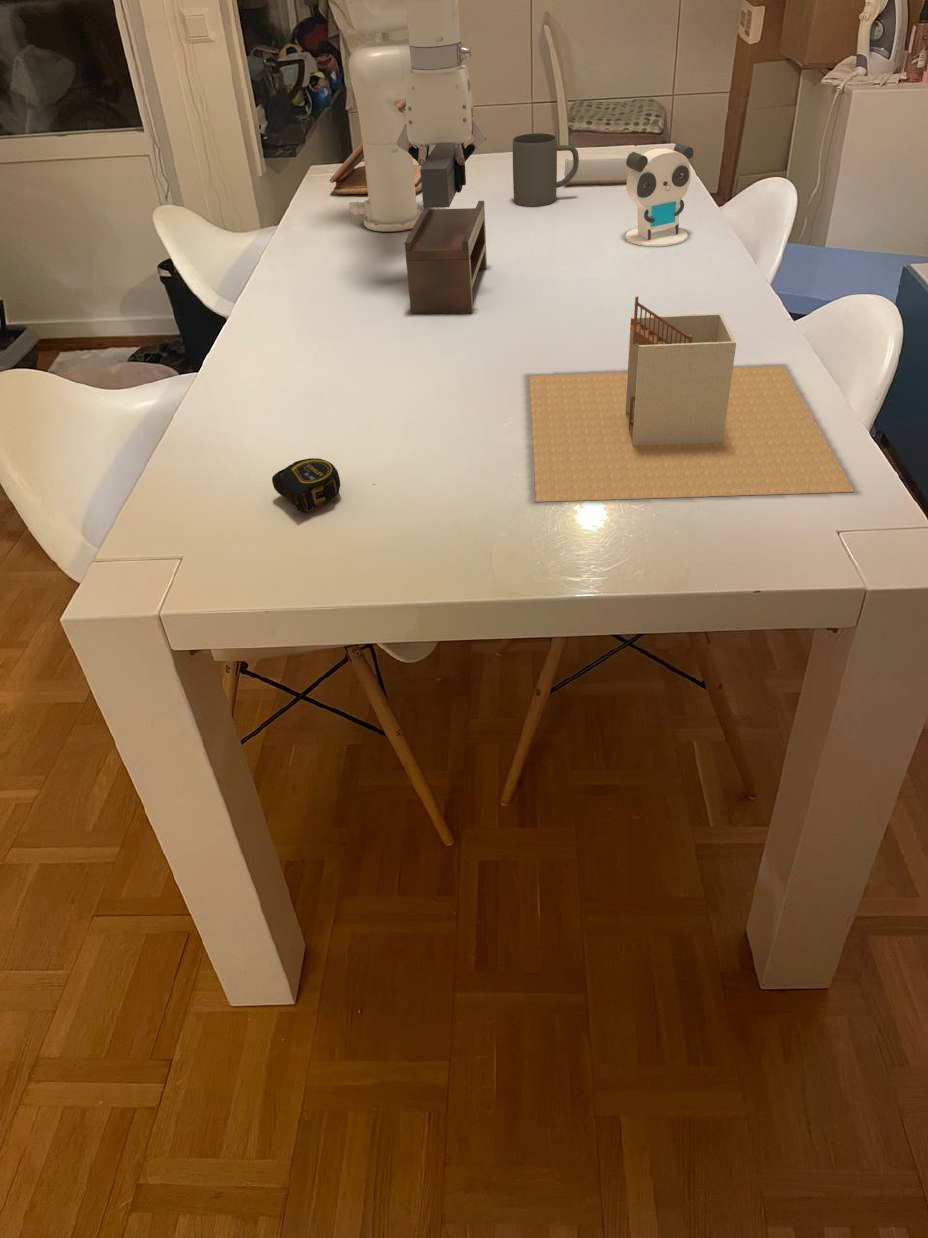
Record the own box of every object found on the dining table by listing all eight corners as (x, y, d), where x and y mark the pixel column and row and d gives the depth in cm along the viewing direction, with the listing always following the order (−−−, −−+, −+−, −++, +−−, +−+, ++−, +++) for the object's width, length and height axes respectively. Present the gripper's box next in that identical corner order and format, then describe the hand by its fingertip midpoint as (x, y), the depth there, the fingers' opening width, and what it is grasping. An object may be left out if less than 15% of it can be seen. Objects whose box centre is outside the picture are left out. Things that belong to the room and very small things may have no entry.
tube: (680, 156, 201) (565, 159, 203) (683, 154, 196) (565, 157, 198) (678, 183, 203) (564, 186, 205) (681, 181, 198) (564, 184, 200)
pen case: (423, 207, 141) (419, 168, 137) (440, 176, 154) (437, 140, 151) (449, 207, 140) (446, 168, 137) (464, 176, 154) (462, 139, 150)
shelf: (411, 313, 150) (404, 242, 143) (432, 267, 166) (426, 201, 159) (472, 313, 148) (468, 241, 141) (487, 266, 165) (484, 200, 158)
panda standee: (642, 250, 167) (647, 160, 157) (611, 234, 175) (615, 147, 165) (699, 239, 170) (708, 150, 160) (666, 223, 178) (673, 138, 169)
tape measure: (273, 496, 108) (267, 469, 105) (325, 477, 110) (320, 449, 108) (299, 522, 103) (293, 493, 101) (352, 501, 106) (348, 472, 104)
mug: (513, 207, 192) (512, 144, 184) (513, 195, 199) (511, 134, 192) (579, 204, 191) (580, 140, 184) (576, 192, 198) (577, 130, 191)
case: (354, 172, 222) (345, 97, 212) (439, 171, 218) (433, 95, 208) (328, 196, 207) (316, 116, 197) (418, 196, 203) (411, 115, 193)
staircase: (624, 412, 119) (631, 283, 108) (710, 409, 118) (726, 279, 108) (631, 445, 112) (640, 311, 102) (722, 442, 111) (741, 307, 101)
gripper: (494, 51, 137) (499, 182, 149) (385, 56, 140) (397, 185, 151) (489, 59, 132) (494, 195, 143) (375, 64, 134) (388, 198, 146)
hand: (444, 189), depth 147 cm, fingers closed on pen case, 4 cm apart
